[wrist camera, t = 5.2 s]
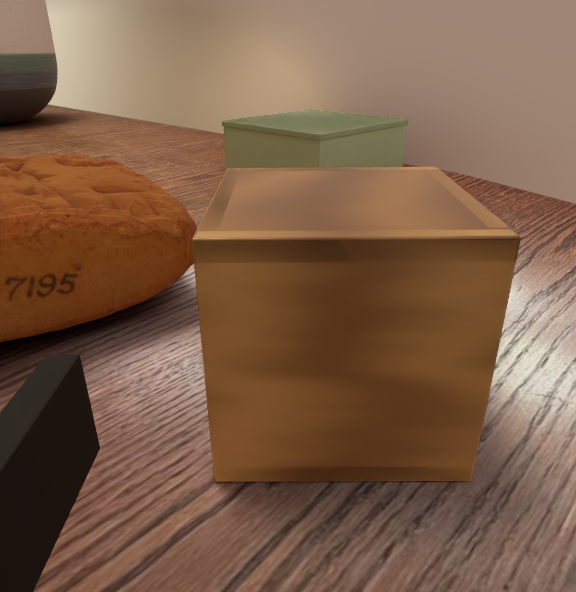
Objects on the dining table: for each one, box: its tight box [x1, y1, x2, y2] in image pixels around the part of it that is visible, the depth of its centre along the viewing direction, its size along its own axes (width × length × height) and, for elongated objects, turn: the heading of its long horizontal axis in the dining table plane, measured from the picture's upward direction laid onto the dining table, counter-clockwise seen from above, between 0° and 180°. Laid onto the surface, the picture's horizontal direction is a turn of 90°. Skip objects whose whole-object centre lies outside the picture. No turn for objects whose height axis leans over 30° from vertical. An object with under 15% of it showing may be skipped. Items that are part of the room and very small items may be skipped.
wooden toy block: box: [192, 167, 521, 482], centre depth 20 cm, size 9×9×9 cm
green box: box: [222, 110, 408, 171], centre depth 60 cm, size 15×15×6 cm
